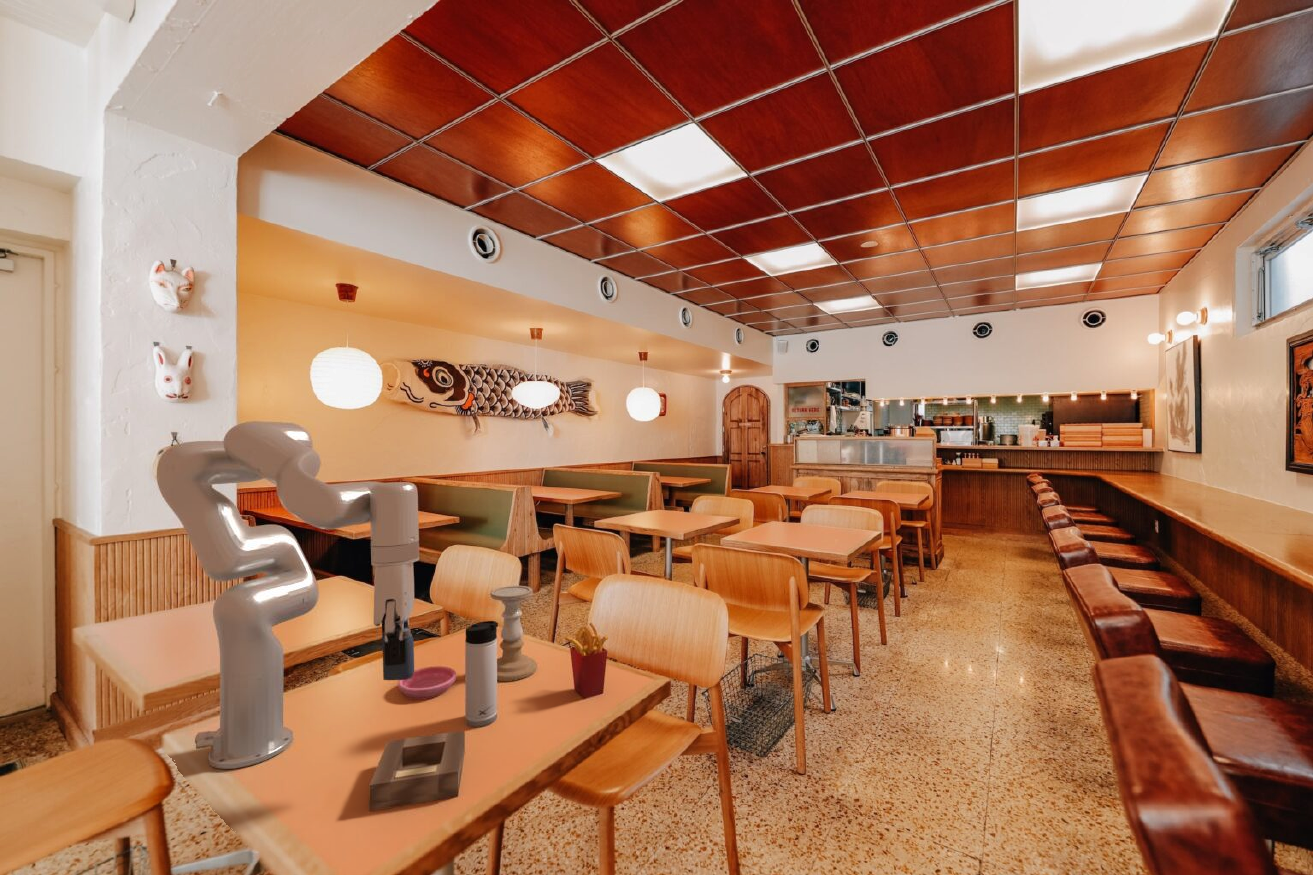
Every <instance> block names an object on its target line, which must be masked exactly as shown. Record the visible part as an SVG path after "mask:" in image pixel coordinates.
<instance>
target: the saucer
mask: <svg viewBox="0 0 1313 875" xmlns="http://www.w3.org/2000/svg"><path fill="white" fill-rule="evenodd" d="M456 680H457V672H456V671H455V670H454V669H453V668H451V667H447V666H442V665H440V666H436V665H435V666H427V667H422V668H418V669H414V673H413V676H412V677H411V678H409V679H407V680H398V682H397V684H398V685H397V686H398V689H399V691H400V692H402V693H403V695H405V696H406V697H407V698H409V699H413V700H423V699H424V700H427V699H430V698H434V696H435V697H438V696H440V695H442V694H444V693H446V692H447V691H448V690H449V688H451V686H452V685H453V684H454V682H455V681H456ZM437 695H438V696H437Z"/></svg>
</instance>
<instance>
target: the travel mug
mask: <svg viewBox="0 0 1313 875" xmlns="http://www.w3.org/2000/svg"><path fill="white" fill-rule="evenodd" d="M498 626H499V623H498V622H497V621H495V620H486V621H480V622H475V623H473V624H471V625H470V626H468V627H466V628H465V641H464V642H465V645H464V646H465V649H464V651H465V652H464V655H465V658H464V660H465V662H464V665H465V666H464V668H465V671H464V672H465V673H464V674H465V682H464V683H465V689H464V690H465V691H464V692H465V693H464V694H465V695H464V696H465V699H464V701H465V711H464V712H465V715H464V716H465V720H464V721H465V724H466V725H468V726H469V727H475V728H479V727H480V728H482V727H485V726H488V725H491V724H492V723H494V722H495V721H496V720H497V718H498V681H497V659H498V641H497V640H498V637H497V632H498V631H497V630H498V628H497V627H498Z"/></svg>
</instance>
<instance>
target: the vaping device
mask: <svg viewBox="0 0 1313 875" xmlns="http://www.w3.org/2000/svg"><path fill="white" fill-rule="evenodd" d="M384 617H385V614H384ZM395 622H397V619H395ZM395 627H396V628H397V626H395ZM404 639H406V662H405V663H404V664H398V665H390V666H386V665H385V619H384V620H383V621H382V623H381V650H382V674H383V675H382V676H383V677H382V678H383V679H382V680H383V681H399V680H407V679H409V678H411V677H412V676H413V673H414V670H415V650H414V647H415V644H414V641H415V639H414V637H413V633H412V632H411V628H410V627H409V628H404Z"/></svg>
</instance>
